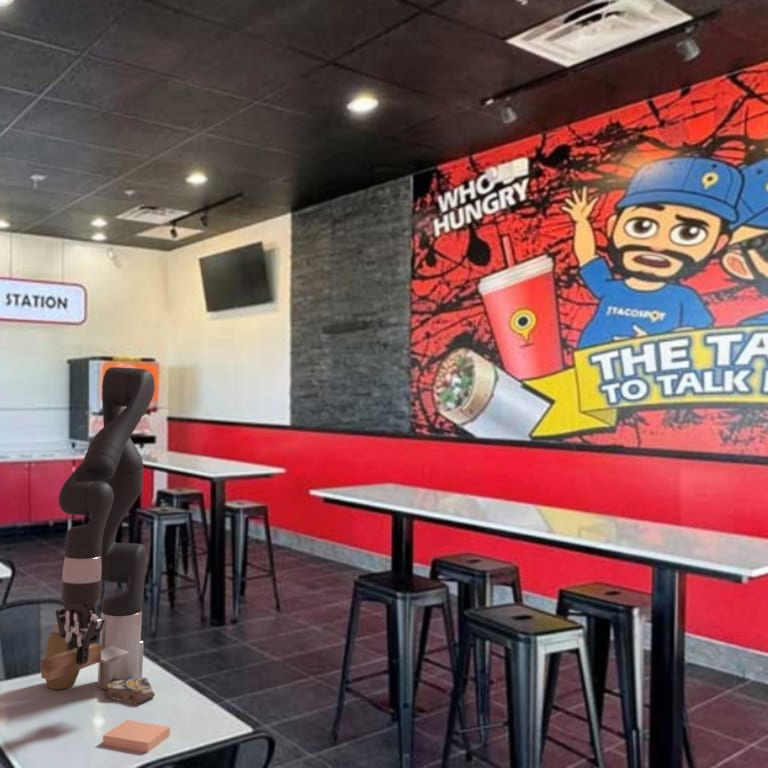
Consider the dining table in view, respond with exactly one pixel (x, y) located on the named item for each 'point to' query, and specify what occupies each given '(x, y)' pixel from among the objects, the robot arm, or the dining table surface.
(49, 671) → the wooden bar with blade
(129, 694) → the ceramic tile fragment
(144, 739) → the tile
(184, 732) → the dining table surface
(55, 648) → the squeeze bottle
